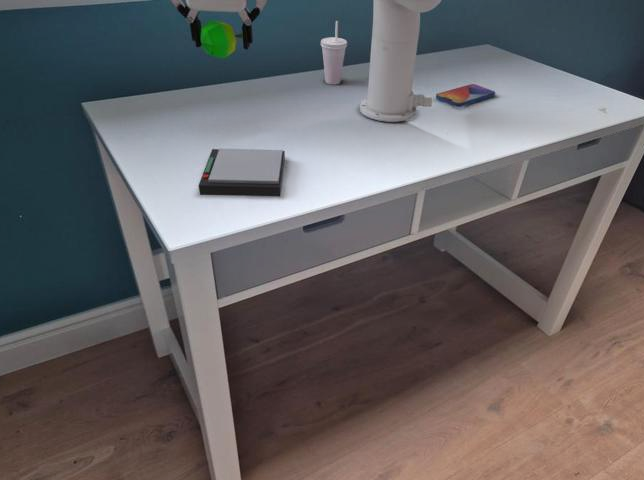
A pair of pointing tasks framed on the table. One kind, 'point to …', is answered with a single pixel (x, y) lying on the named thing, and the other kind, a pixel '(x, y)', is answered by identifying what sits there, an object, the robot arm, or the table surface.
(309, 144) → the table surface
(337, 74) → the smoothie
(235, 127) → the table surface
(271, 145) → the table surface
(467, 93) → the smartphone
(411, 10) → the robot arm
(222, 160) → the scale
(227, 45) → the apple
